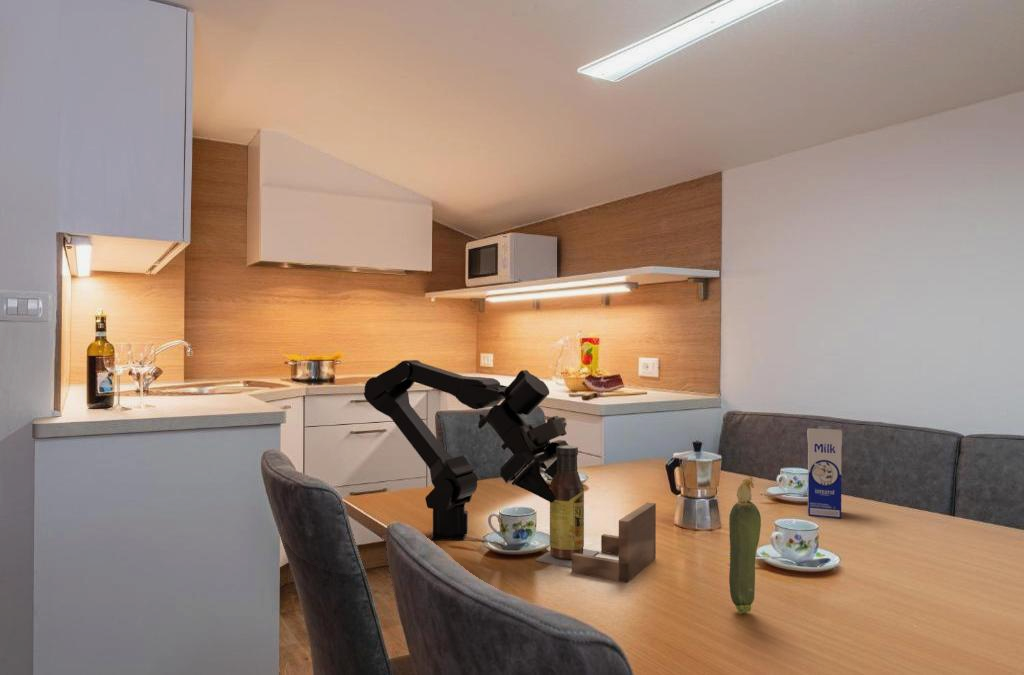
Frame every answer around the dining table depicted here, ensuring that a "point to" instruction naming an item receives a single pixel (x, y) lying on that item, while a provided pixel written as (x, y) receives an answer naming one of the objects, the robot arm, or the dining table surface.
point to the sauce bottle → (567, 506)
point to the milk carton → (824, 471)
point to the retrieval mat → (562, 562)
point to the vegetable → (743, 547)
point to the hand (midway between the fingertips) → (565, 495)
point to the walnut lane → (623, 548)
